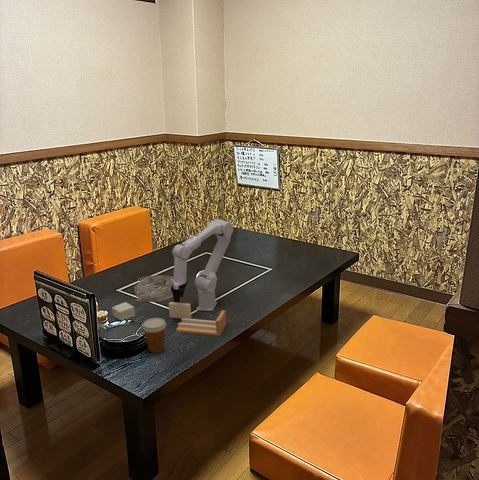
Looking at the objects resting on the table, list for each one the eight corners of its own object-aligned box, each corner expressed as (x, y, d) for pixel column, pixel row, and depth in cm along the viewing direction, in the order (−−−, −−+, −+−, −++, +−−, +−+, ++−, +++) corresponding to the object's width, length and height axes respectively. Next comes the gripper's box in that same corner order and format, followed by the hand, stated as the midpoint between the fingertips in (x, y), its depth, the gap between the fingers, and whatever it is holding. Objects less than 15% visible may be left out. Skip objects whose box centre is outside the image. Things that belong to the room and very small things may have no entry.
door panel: (171, 315, 222) (170, 302, 220) (191, 317, 219) (190, 303, 217) (169, 317, 220) (168, 303, 218) (189, 319, 218) (188, 305, 215)
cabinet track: (184, 320, 216) (183, 306, 214) (226, 324, 212) (225, 310, 209) (176, 331, 207) (175, 317, 205) (219, 335, 202) (219, 321, 200)
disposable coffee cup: (151, 341, 200) (148, 316, 196) (171, 344, 197) (169, 318, 193) (140, 353, 191) (137, 326, 187) (162, 356, 188) (159, 329, 185)
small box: (135, 316, 222) (134, 306, 221) (120, 322, 217) (119, 312, 215) (127, 311, 228) (126, 301, 226) (112, 316, 223) (111, 306, 221)
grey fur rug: (151, 271, 276) (151, 270, 276) (197, 284, 256) (197, 283, 256) (106, 291, 250) (106, 291, 250) (153, 307, 231) (153, 306, 231)
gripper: (175, 266, 220) (173, 293, 223) (167, 274, 206) (166, 303, 209) (189, 267, 219) (188, 295, 222) (183, 276, 205) (181, 305, 208)
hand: (178, 299), depth 215 cm, fingers open, 7 cm apart
